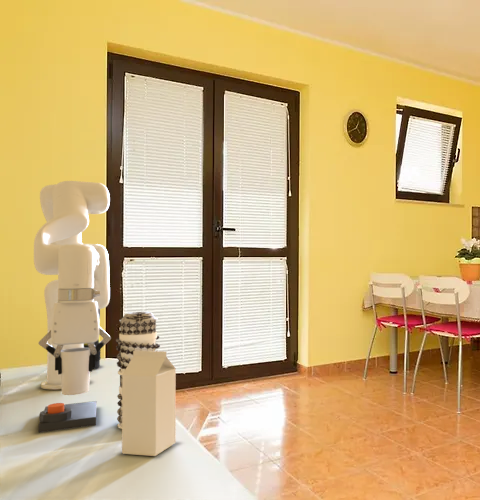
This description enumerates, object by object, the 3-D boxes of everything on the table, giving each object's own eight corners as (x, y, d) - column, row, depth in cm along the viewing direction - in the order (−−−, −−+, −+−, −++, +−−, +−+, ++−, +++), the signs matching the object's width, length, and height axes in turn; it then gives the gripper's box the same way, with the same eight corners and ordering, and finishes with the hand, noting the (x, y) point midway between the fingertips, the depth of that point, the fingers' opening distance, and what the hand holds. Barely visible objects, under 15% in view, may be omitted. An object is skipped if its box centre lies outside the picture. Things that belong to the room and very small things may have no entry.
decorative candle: (116, 420, 118) (116, 311, 119) (159, 415, 122) (159, 310, 122) (114, 432, 110) (114, 315, 110) (160, 427, 113) (160, 313, 114)
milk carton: (155, 457, 96) (155, 354, 96) (121, 454, 97) (122, 353, 98) (175, 443, 103) (175, 348, 103) (143, 441, 104) (144, 347, 104)
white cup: (69, 388, 126) (70, 347, 126) (96, 388, 125) (96, 347, 126) (53, 395, 119) (53, 352, 119) (81, 395, 119) (81, 352, 119)
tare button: (48, 411, 115) (48, 403, 115) (64, 409, 116) (64, 402, 116) (46, 415, 112) (47, 407, 112) (63, 413, 113) (63, 405, 113)
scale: (45, 414, 123) (45, 399, 123) (96, 408, 128) (96, 394, 128) (38, 433, 110) (38, 416, 110) (95, 425, 114) (96, 409, 115)
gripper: (115, 294, 130) (114, 365, 129) (35, 296, 122) (35, 372, 122) (115, 295, 123) (115, 371, 123) (32, 298, 116) (31, 379, 115)
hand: (75, 371), depth 122 cm, fingers closed on white cup, 5 cm apart
